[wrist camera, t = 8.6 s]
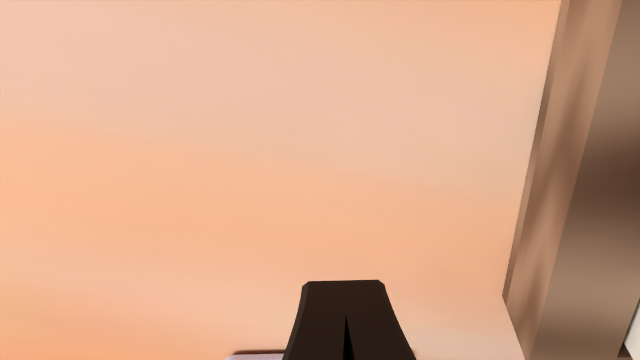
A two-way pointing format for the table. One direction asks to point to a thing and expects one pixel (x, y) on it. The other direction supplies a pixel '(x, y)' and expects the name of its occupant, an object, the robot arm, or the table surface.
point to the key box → (582, 192)
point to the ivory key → (634, 334)
